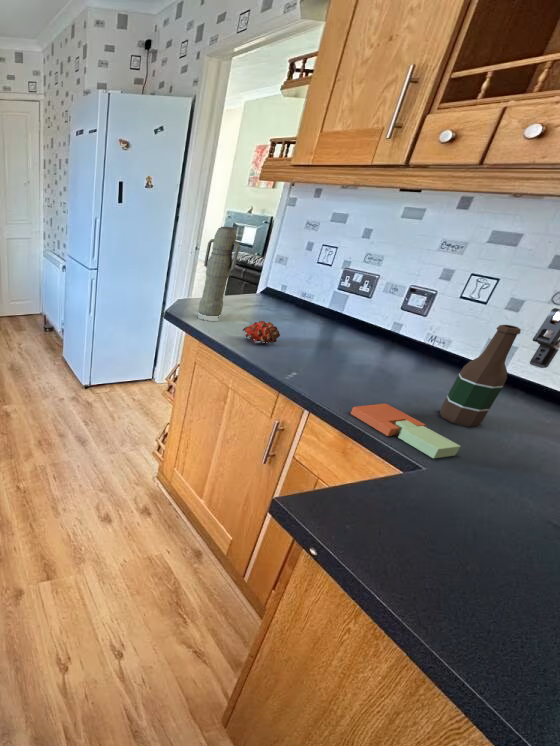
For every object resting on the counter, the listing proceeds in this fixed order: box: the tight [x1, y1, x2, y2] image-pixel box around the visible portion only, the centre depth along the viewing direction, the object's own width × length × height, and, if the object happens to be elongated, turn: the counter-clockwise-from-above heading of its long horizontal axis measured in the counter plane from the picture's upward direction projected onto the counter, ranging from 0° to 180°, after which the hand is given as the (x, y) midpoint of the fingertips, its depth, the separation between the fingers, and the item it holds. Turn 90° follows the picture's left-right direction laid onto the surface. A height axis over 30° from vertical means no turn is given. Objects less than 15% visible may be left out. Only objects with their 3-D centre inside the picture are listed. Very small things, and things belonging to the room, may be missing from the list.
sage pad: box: [395, 420, 461, 459], centre depth 91 cm, size 6×11×2 cm, turn 12°
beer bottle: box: [439, 324, 522, 428], centre depth 96 cm, size 8×8×24 cm
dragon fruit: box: [242, 320, 281, 345], centre depth 144 cm, size 8×8×12 cm
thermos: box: [197, 226, 241, 322], centre depth 161 cm, size 9×12×35 cm
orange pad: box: [350, 403, 426, 437], centre depth 99 cm, size 10×10×2 cm
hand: (554, 364), depth 74 cm, fingers open, 8 cm apart
